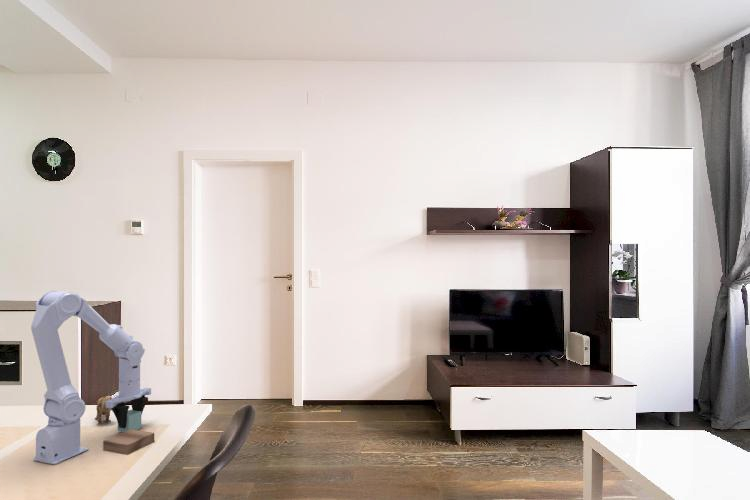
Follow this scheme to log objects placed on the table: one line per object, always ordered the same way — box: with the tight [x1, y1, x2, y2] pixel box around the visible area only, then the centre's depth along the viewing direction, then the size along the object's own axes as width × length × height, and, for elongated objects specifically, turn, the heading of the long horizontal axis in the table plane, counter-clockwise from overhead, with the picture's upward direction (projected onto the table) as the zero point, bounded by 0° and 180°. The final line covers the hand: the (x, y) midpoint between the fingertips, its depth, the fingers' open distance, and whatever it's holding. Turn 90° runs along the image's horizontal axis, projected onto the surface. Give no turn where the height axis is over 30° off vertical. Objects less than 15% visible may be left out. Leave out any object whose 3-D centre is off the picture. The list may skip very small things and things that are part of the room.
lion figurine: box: [94, 395, 113, 426], centre depth 147 cm, size 15×5×9 cm, turn 44°
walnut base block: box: [102, 429, 155, 455], centre depth 127 cm, size 9×9×2 cm
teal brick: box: [117, 409, 142, 433], centre depth 137 cm, size 4×4×5 cm
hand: (129, 424), depth 137 cm, fingers closed on teal brick, 4 cm apart
